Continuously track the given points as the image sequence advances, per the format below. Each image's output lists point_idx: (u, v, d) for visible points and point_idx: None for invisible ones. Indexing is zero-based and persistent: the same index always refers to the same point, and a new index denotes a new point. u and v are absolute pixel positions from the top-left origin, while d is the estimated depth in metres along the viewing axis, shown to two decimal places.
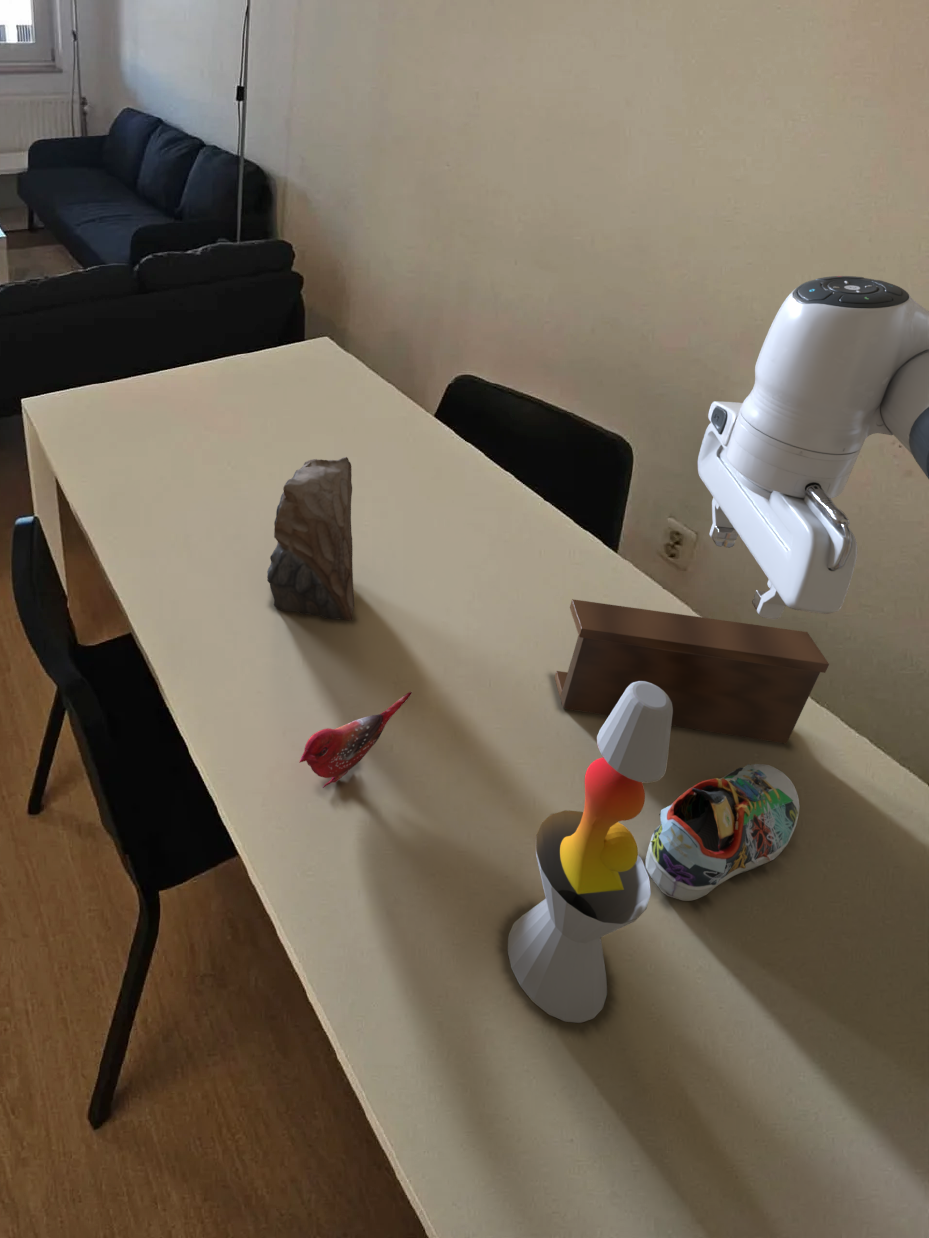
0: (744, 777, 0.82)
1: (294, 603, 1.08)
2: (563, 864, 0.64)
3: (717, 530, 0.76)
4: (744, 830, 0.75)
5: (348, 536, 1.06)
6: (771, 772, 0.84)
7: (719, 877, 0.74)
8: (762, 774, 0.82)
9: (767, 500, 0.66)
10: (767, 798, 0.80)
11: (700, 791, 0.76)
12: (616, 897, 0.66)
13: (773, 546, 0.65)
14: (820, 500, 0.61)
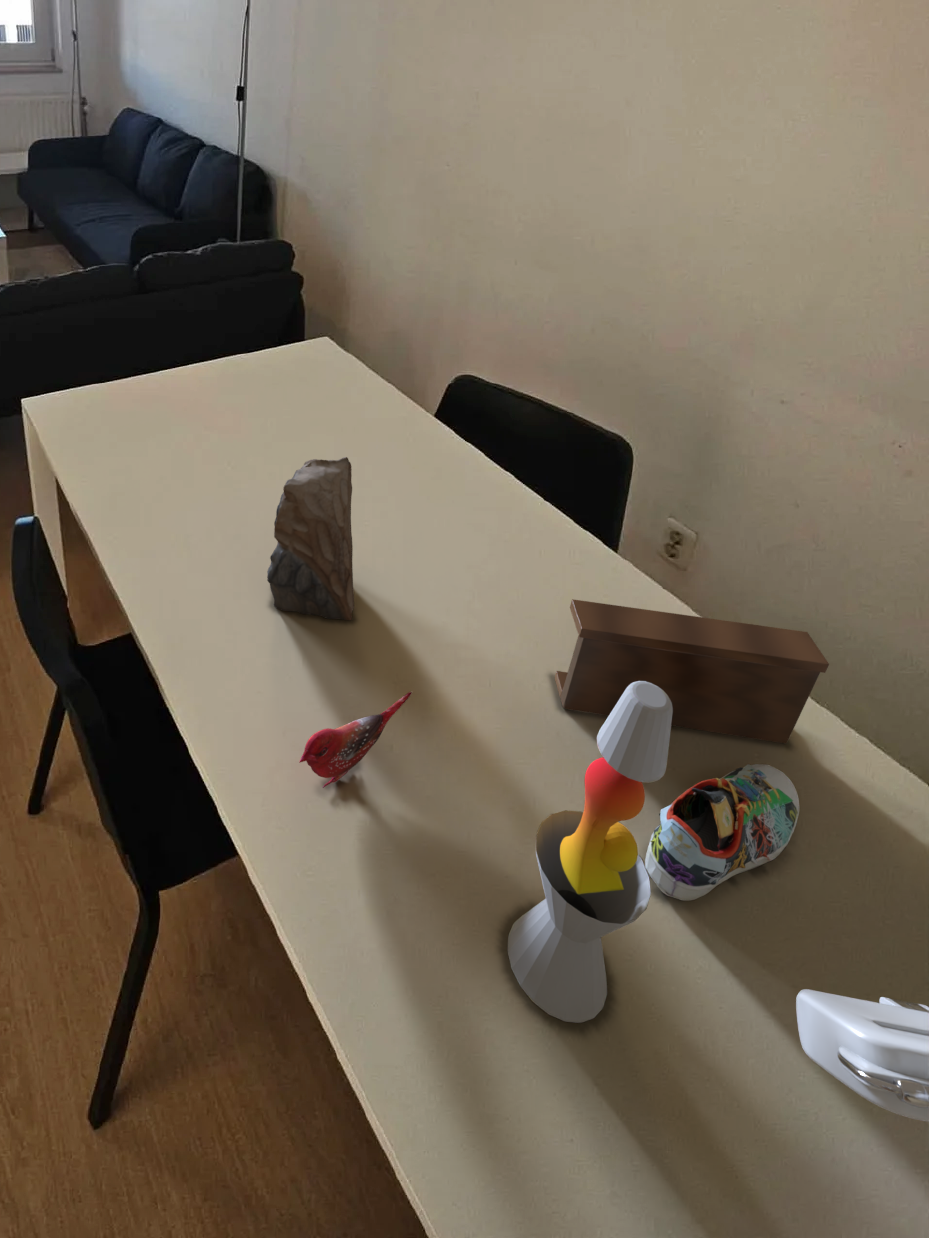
0: (744, 777, 0.82)
1: (294, 603, 1.08)
2: (563, 864, 0.64)
3: (921, 1010, 0.54)
4: (744, 830, 0.75)
5: (348, 536, 1.06)
6: (771, 772, 0.84)
7: (718, 876, 0.74)
8: (762, 774, 0.82)
9: None
10: (767, 798, 0.80)
11: (700, 791, 0.76)
12: (616, 897, 0.66)
13: (892, 1018, 0.50)
14: None
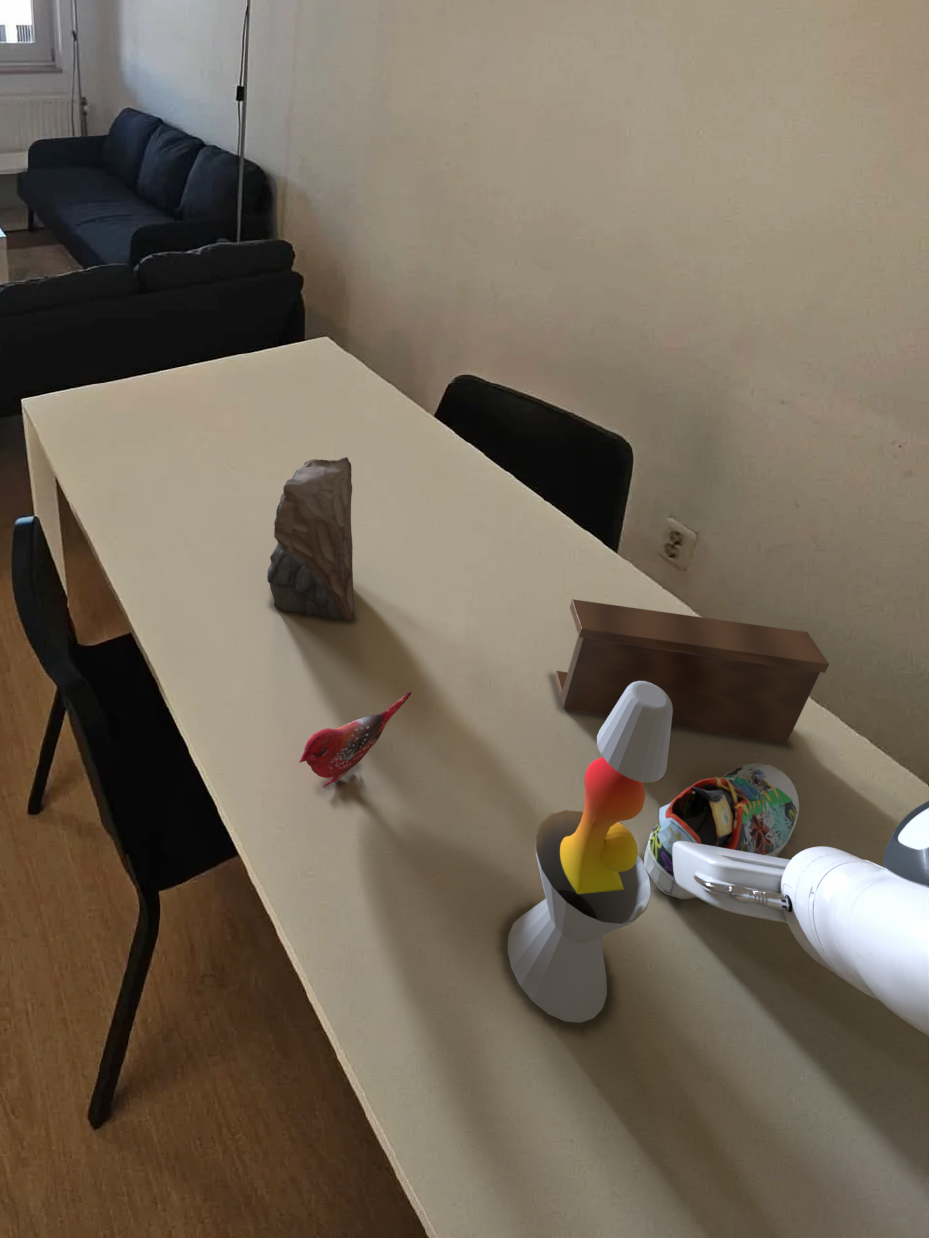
0: (743, 776, 0.82)
1: (294, 603, 1.08)
2: (563, 864, 0.64)
3: None
4: (743, 829, 0.75)
5: (348, 536, 1.06)
6: (771, 772, 0.84)
7: None
8: (762, 774, 0.82)
9: None
10: (766, 797, 0.80)
11: (699, 790, 0.76)
12: (616, 897, 0.66)
13: (738, 855, 0.69)
14: (763, 892, 0.63)
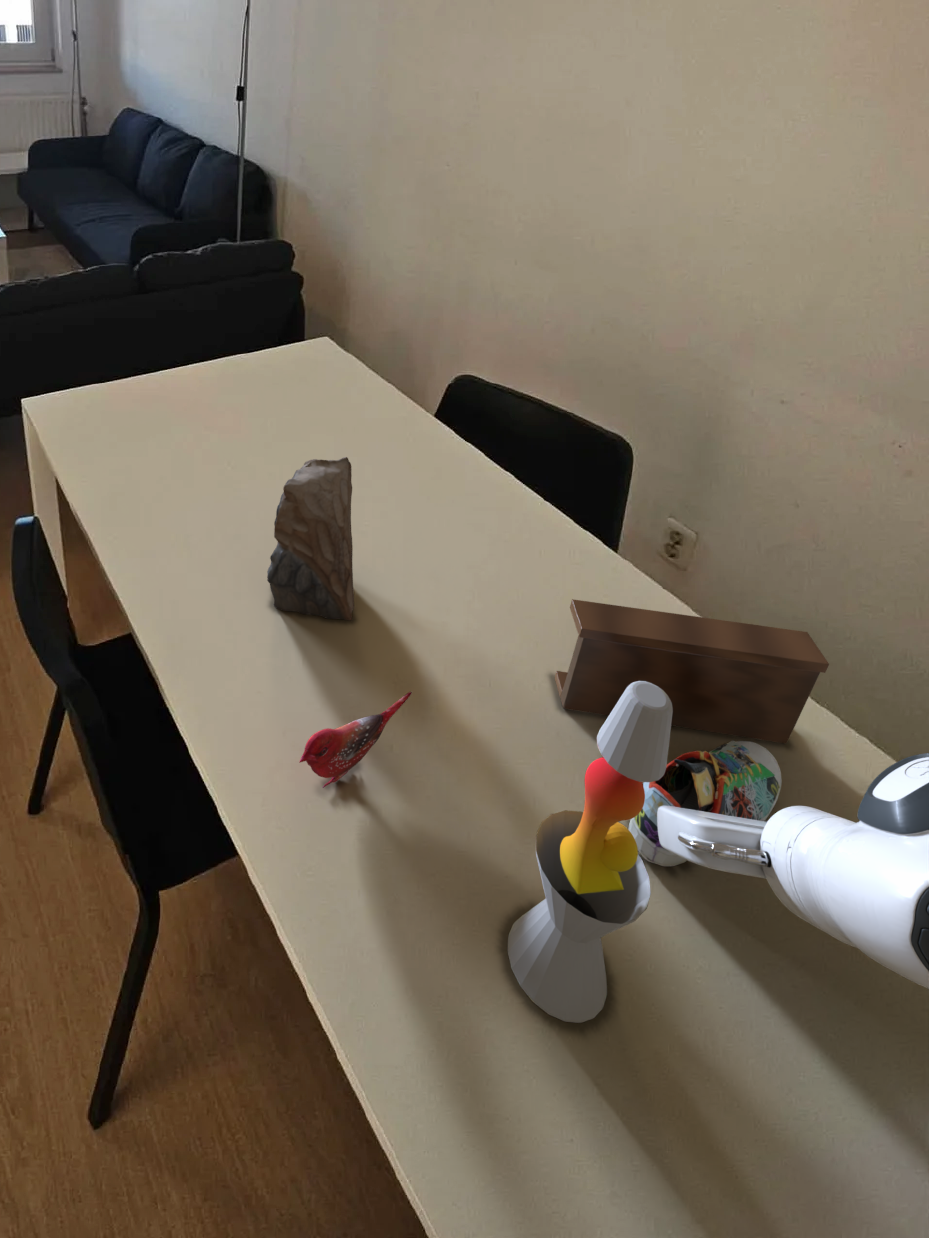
0: (727, 752, 0.84)
1: (294, 603, 1.08)
2: (563, 864, 0.64)
3: None
4: (723, 800, 0.78)
5: (348, 536, 1.06)
6: (755, 748, 0.86)
7: None
8: (745, 749, 0.85)
9: None
10: (749, 772, 0.83)
11: (681, 761, 0.79)
12: (616, 897, 0.66)
13: (719, 817, 0.72)
14: (743, 849, 0.66)
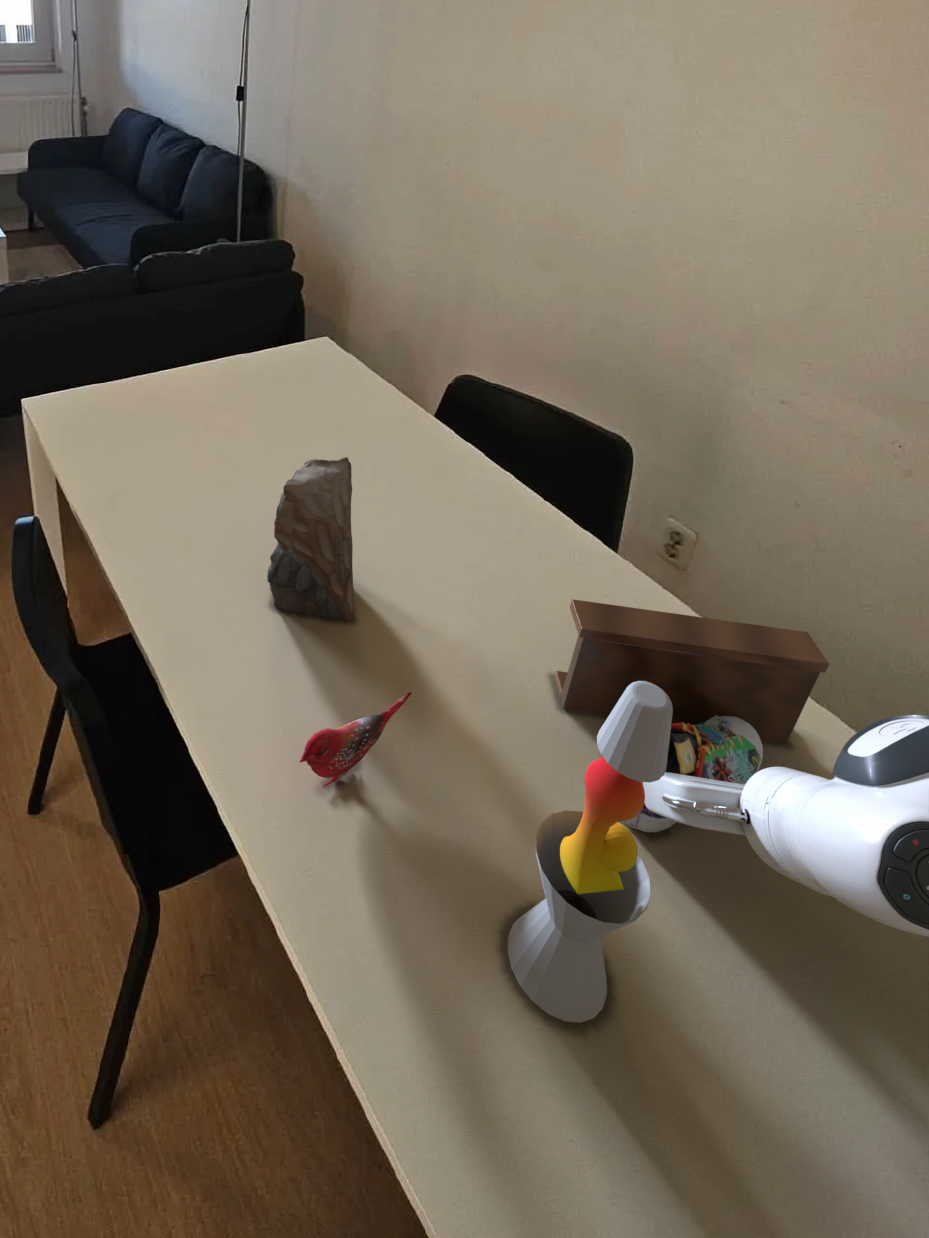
0: (710, 725, 0.88)
1: (294, 603, 1.08)
2: (563, 864, 0.64)
3: None
4: (704, 768, 0.81)
5: (348, 536, 1.06)
6: (737, 722, 0.89)
7: None
8: (728, 723, 0.88)
9: None
10: (730, 744, 0.86)
11: None
12: (616, 897, 0.66)
13: (702, 780, 0.75)
14: (724, 807, 0.69)
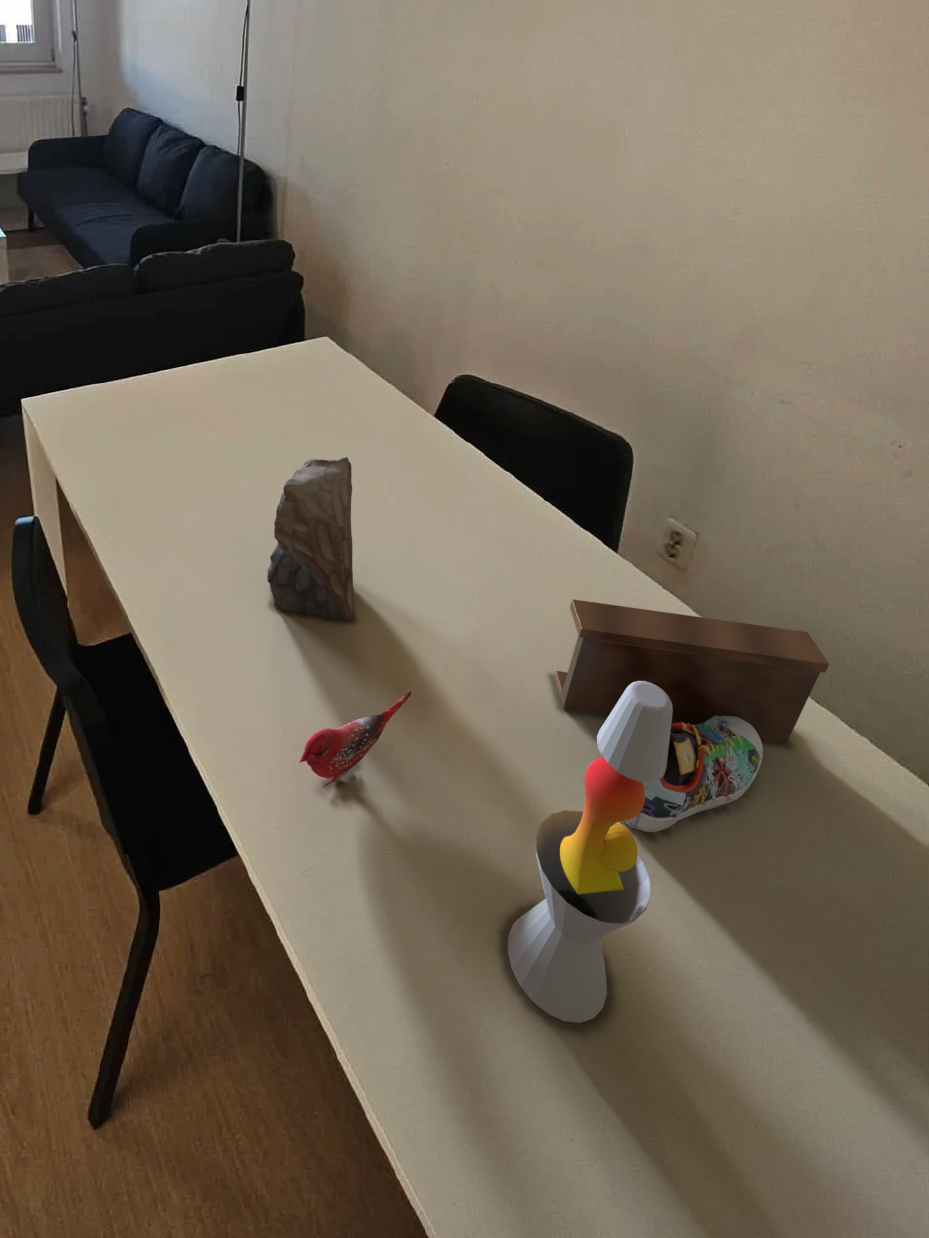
0: (710, 725, 0.88)
1: (294, 603, 1.08)
2: (563, 864, 0.64)
3: None
4: (704, 768, 0.81)
5: (348, 536, 1.06)
6: (737, 722, 0.89)
7: (679, 810, 0.80)
8: (728, 723, 0.88)
9: None
10: (730, 744, 0.86)
11: None
12: (616, 897, 0.66)
13: None
14: None
